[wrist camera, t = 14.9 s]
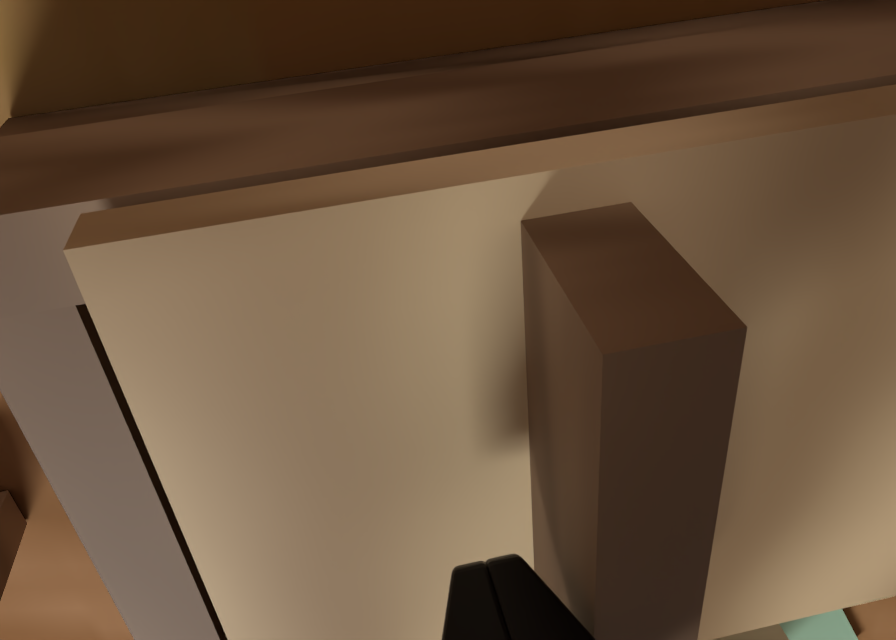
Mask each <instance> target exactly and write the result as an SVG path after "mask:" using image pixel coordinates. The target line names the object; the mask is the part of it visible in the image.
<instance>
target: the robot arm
mask: <svg viewBox="0 0 896 640" xmlns="http://www.w3.org/2000/svg"><path fill="white" fill-rule="evenodd" d="M442 640H596V639H595V638H594V637H593V636H592V635H591V633H590V632H589V631H588V630H587V629H586V628H585V627H584V626H583V625H582V623H581V622H580V621H579V620H578V619H577V618H576V617H575V616H574V615H573V613H572V612H571V611H570V610H569V609H568V608H567V607H566V606H565V605H564V603H563V602H562V601H561V600H560V599H559V598H558V597H557V596H556V594H555V593H554V592H553V591H552V590H551V589H550V588H549V587H548V586H547V584H546V583H545V582H544V581H543V580H542V579H541V578H540V577H539V576H538V574H537V573H536V572H535V571H534V570H533V569H532V568H531V567H530V566H529V564H528V563H527V562H526V561H525V560H524V559H523V558H522V557H521V556H519V555H518V554H508V555H503V556H499V557H494V558H490V559H488V560H486V562H484V561H476V562H472V563H467V564H463V565H458V566H456V567H455V568H454V569H453V570H452V574H451V580H450V586H449V593H448V600H447V607H446V613H445V620H444V627H443V634H442Z"/></svg>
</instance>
